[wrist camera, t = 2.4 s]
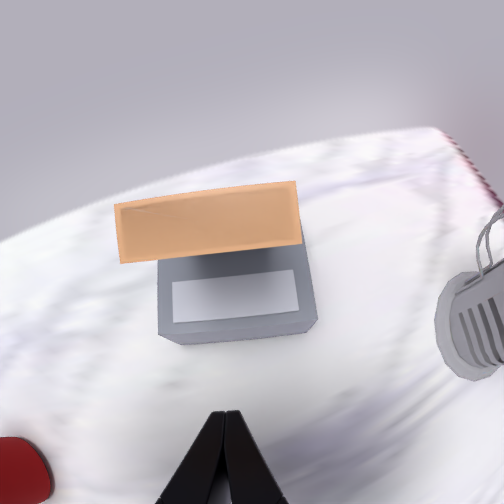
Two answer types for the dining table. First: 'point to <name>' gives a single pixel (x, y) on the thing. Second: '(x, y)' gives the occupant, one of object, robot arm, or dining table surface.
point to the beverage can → (21, 473)
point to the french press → (473, 317)
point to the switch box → (236, 295)
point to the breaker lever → (208, 222)
